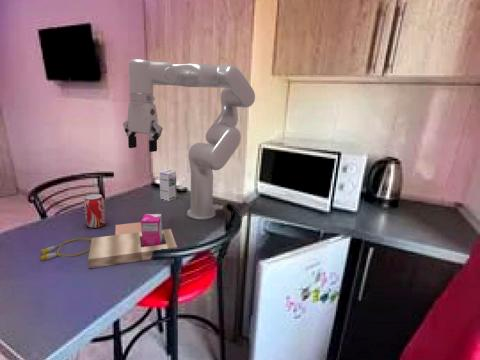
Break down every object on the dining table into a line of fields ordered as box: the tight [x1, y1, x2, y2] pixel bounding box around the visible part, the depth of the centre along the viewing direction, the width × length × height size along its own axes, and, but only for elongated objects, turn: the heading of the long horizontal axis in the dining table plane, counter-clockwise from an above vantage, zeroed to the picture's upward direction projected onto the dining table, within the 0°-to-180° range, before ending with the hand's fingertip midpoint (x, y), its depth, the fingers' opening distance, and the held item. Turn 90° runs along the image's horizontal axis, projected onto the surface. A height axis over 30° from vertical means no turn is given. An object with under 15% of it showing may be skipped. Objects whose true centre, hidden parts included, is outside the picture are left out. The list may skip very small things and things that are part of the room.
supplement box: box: [140, 213, 164, 247], centre depth 99 cm, size 6×6×12 cm
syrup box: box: [159, 169, 178, 202], centre depth 145 cm, size 6×6×14 cm
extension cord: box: [40, 237, 92, 262], centre depth 97 cm, size 12×16×2 cm
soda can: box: [83, 193, 107, 229], centre depth 113 cm, size 7×7×12 cm
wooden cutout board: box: [87, 228, 178, 269], centre depth 98 cm, size 26×14×3 cm, turn 111°
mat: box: [114, 221, 142, 235], centre depth 112 cm, size 14×12×1 cm
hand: (142, 149), depth 103 cm, fingers open, 9 cm apart
